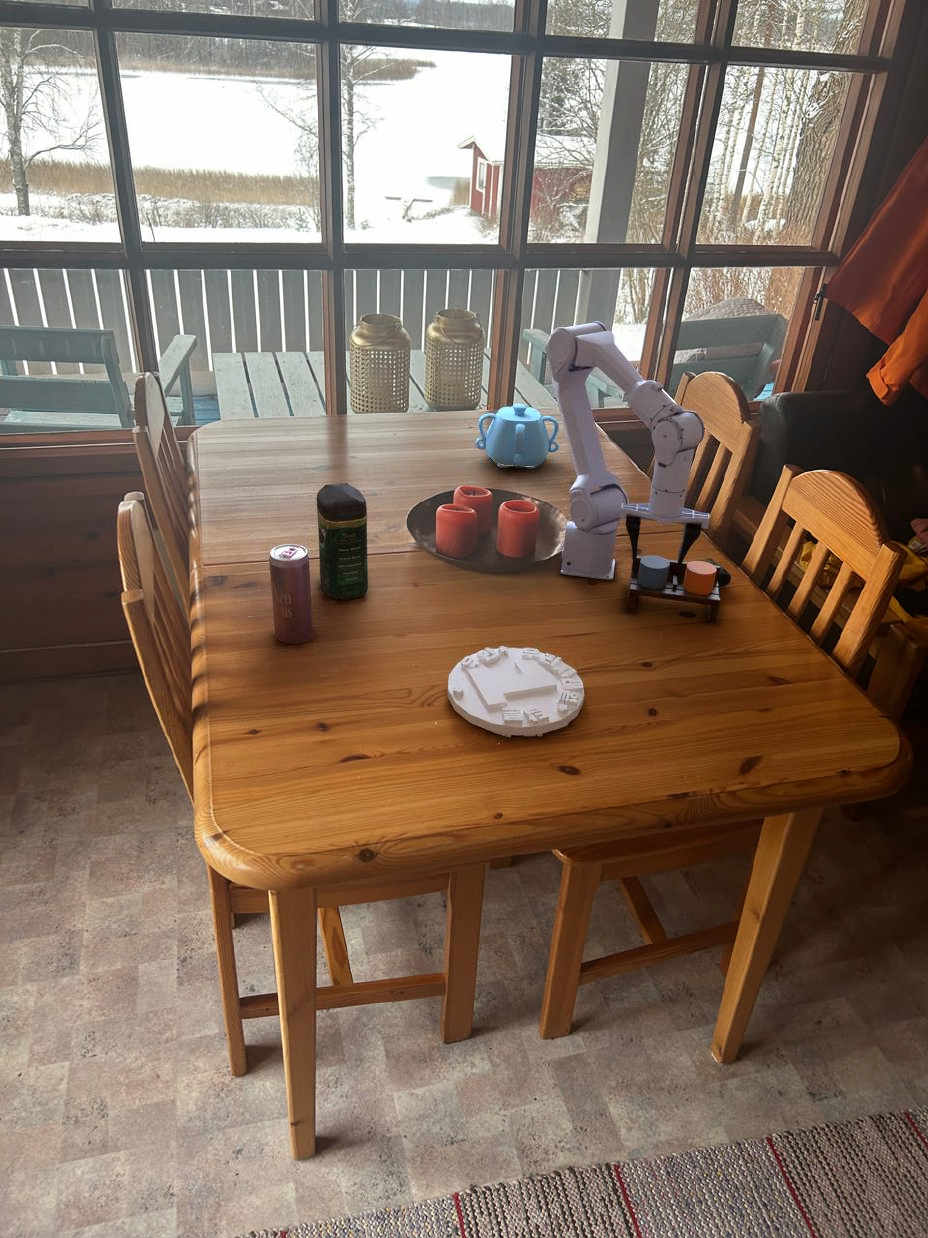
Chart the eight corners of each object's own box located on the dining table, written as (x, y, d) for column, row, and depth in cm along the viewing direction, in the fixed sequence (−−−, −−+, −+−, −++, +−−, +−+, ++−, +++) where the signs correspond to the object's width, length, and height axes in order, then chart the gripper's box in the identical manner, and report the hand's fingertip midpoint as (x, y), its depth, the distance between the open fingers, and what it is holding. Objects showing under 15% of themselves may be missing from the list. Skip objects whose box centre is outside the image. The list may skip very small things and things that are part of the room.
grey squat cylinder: (636, 587, 157) (639, 566, 154) (637, 573, 161) (640, 553, 159) (666, 591, 156) (669, 570, 154) (666, 577, 160) (670, 557, 158)
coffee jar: (373, 598, 158) (372, 498, 148) (328, 604, 155) (323, 504, 146) (359, 572, 166) (357, 476, 156) (316, 578, 163) (311, 481, 154)
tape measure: (730, 590, 165) (734, 572, 163) (697, 595, 163) (700, 576, 161) (710, 573, 171) (714, 555, 169) (678, 577, 169) (681, 559, 167)
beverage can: (319, 630, 148) (315, 547, 141) (302, 648, 143) (296, 564, 136) (286, 623, 150) (280, 540, 142) (268, 641, 145) (261, 556, 137)
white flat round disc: (450, 656, 143) (451, 640, 141) (576, 662, 143) (578, 647, 141) (444, 736, 126) (445, 719, 124) (587, 743, 126) (590, 726, 124)
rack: (626, 612, 157) (631, 578, 154) (628, 587, 165) (633, 555, 161) (715, 623, 155) (722, 590, 152) (713, 598, 162) (720, 565, 159)
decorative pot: (564, 465, 215) (570, 409, 208) (512, 479, 206) (516, 420, 199) (519, 444, 226) (524, 390, 219) (468, 456, 217) (471, 400, 210)
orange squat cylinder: (683, 593, 155) (686, 572, 153) (682, 579, 160) (686, 559, 158) (713, 596, 155) (717, 576, 153) (712, 583, 159) (716, 562, 157)
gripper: (623, 490, 147) (613, 564, 154) (715, 500, 145) (700, 576, 152) (625, 474, 153) (615, 546, 160) (713, 484, 151) (699, 557, 158)
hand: (656, 559), depth 157 cm, fingers open, 7 cm apart
